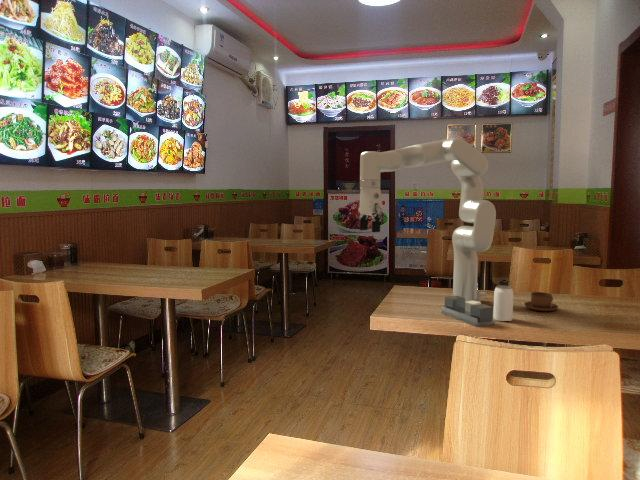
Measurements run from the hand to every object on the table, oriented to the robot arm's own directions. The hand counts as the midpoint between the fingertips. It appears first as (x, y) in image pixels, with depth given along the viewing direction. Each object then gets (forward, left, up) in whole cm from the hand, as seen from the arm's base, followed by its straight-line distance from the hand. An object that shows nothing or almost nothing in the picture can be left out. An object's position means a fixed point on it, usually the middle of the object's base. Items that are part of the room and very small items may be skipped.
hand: (369, 231), depth 188 cm
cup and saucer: (-65, +21, -31) cm, 75 cm away
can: (-40, +28, -31) cm, 58 cm away
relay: (-37, +15, -31) cm, 50 cm away
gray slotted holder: (-29, +22, -31) cm, 47 cm away
